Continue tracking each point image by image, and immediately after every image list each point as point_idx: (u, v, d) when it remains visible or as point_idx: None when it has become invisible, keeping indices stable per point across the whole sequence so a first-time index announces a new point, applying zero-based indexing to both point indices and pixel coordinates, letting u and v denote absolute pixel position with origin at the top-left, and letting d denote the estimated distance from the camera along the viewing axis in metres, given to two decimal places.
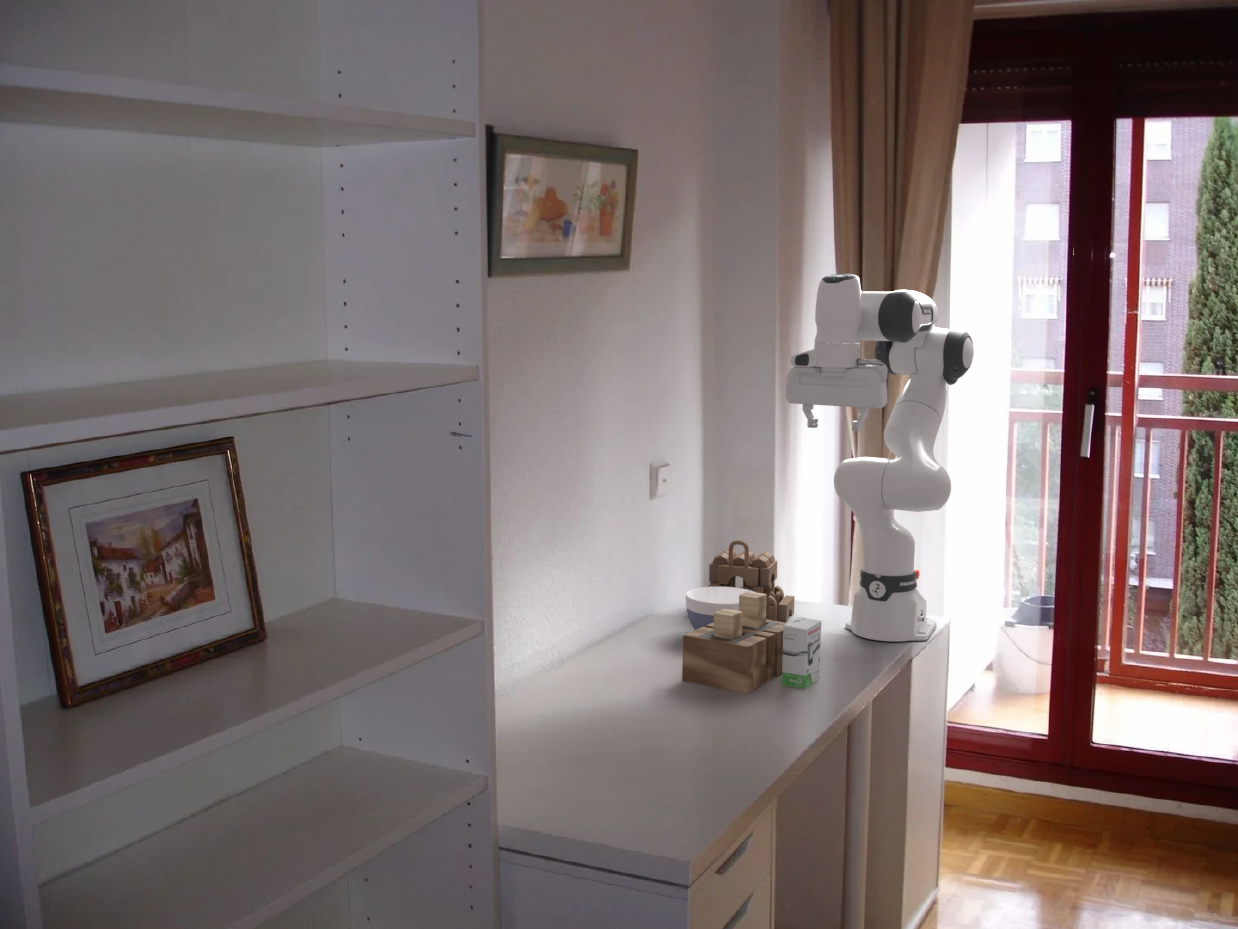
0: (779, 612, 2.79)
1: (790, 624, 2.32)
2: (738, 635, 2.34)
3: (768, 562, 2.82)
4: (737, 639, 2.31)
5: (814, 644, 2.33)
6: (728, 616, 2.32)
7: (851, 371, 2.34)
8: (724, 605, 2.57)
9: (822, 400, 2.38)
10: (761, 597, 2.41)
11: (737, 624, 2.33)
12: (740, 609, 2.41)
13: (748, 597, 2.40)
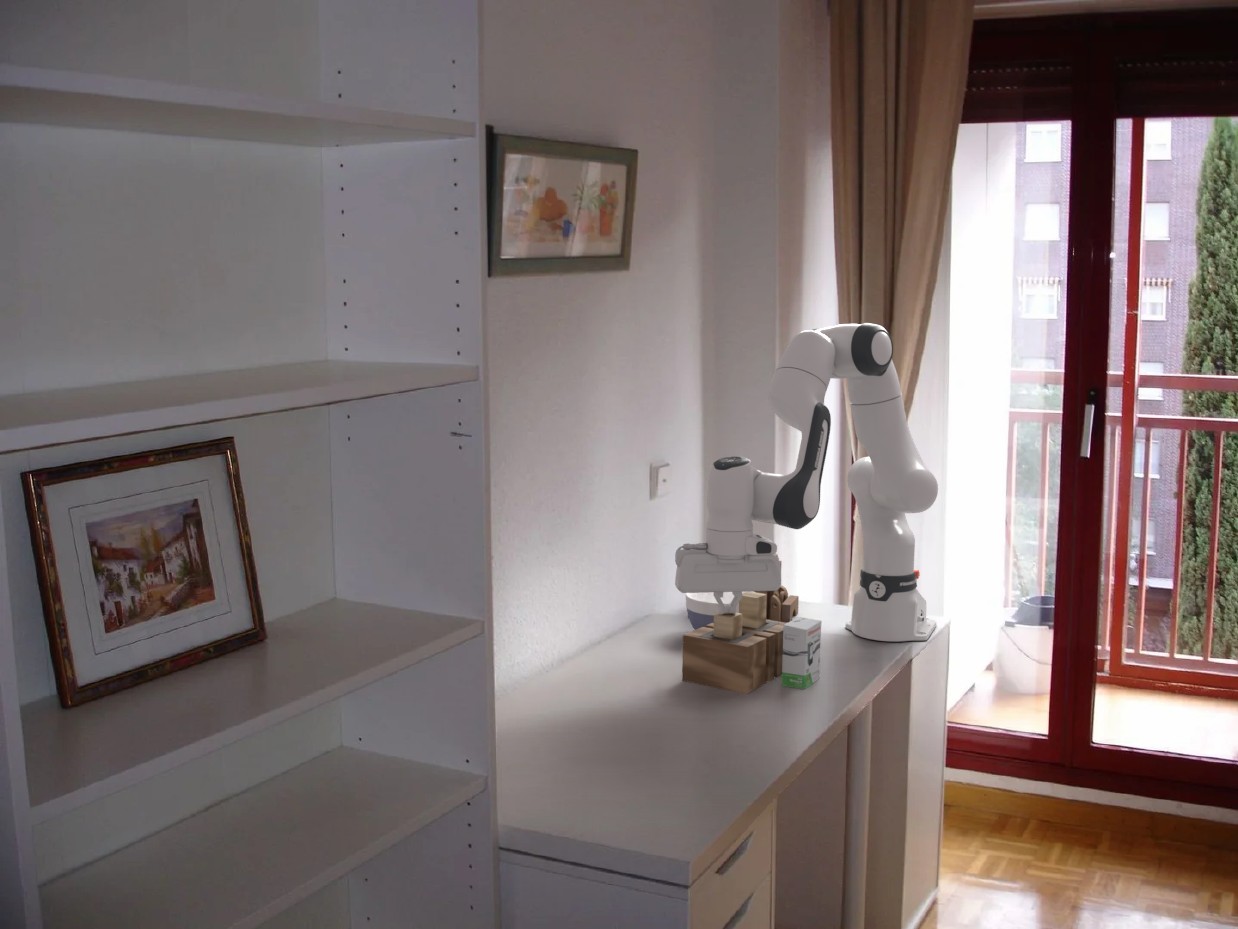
0: (783, 612, 2.80)
1: (790, 624, 2.32)
2: None
3: None
4: (737, 639, 2.31)
5: (814, 644, 2.33)
6: (728, 618, 2.32)
7: None
8: None
9: None
10: (761, 597, 2.41)
11: (736, 626, 2.33)
12: (740, 609, 2.41)
13: (748, 597, 2.40)
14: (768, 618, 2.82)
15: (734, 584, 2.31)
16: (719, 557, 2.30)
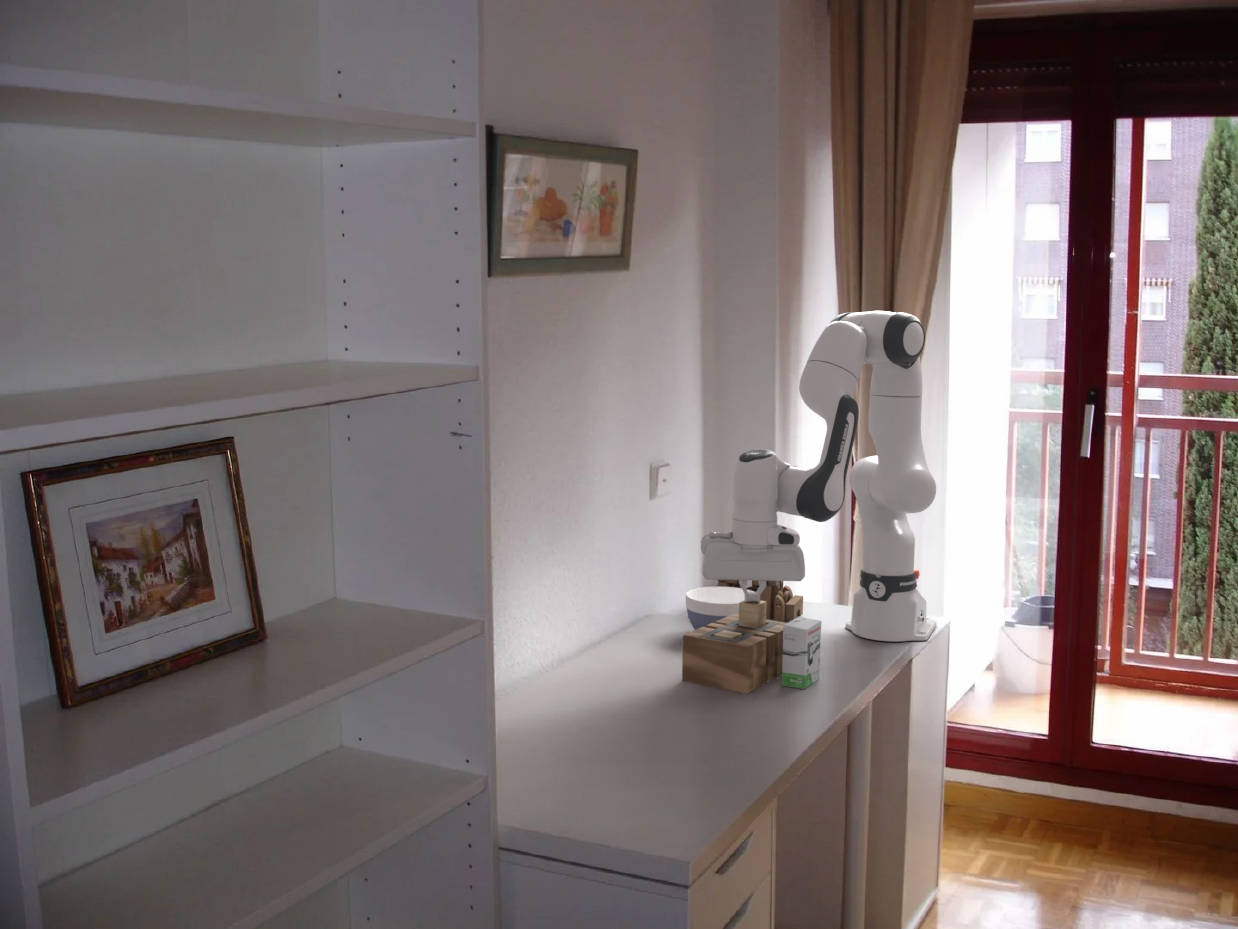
0: (787, 612, 2.80)
1: (790, 624, 2.32)
2: None
3: None
4: (737, 639, 2.31)
5: (814, 644, 2.33)
6: (728, 638, 2.32)
7: None
8: (724, 605, 2.57)
9: None
10: (761, 604, 2.41)
11: None
12: (740, 617, 2.42)
13: (748, 604, 2.40)
14: (772, 618, 2.82)
15: (757, 573, 2.39)
16: (742, 546, 2.38)
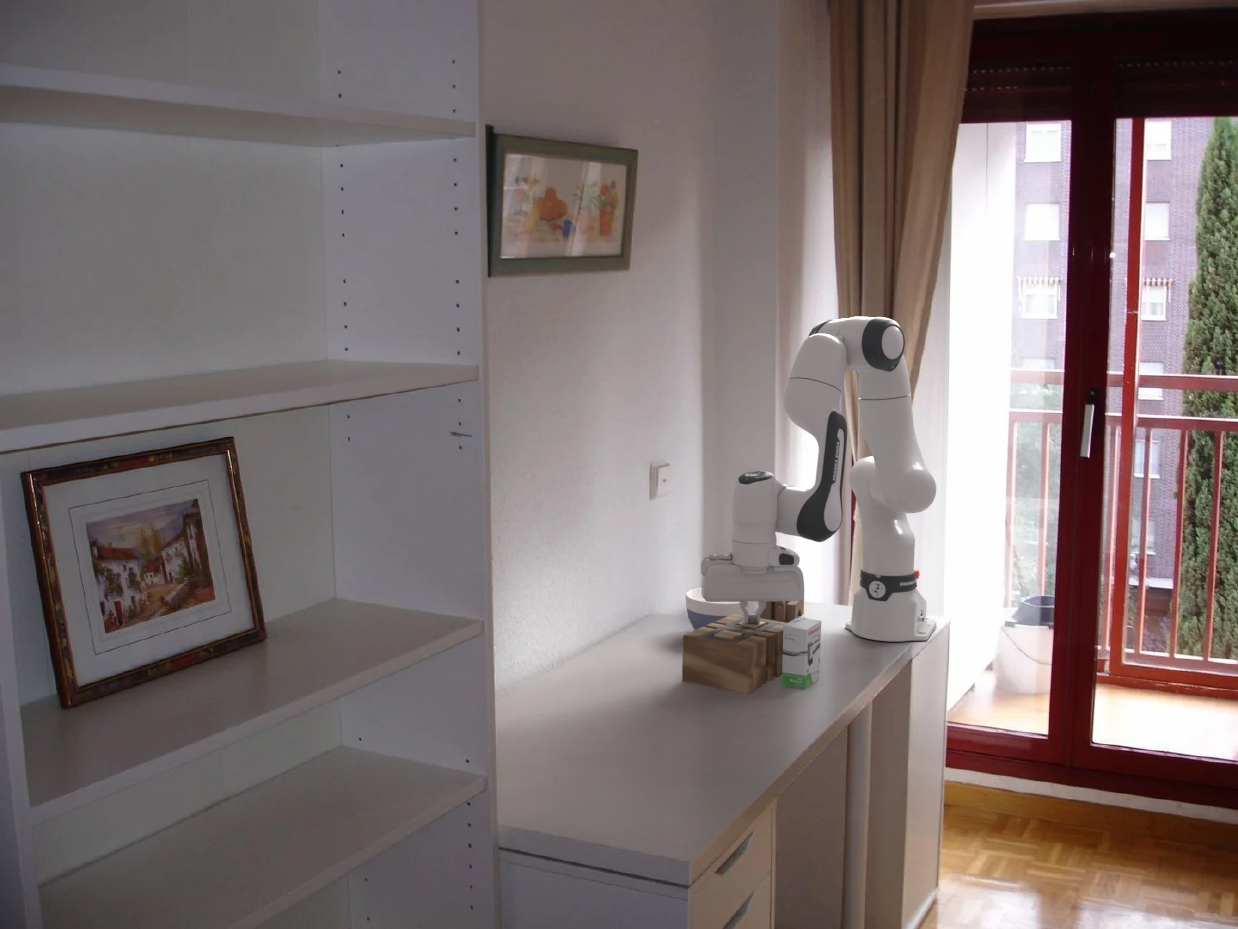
0: (788, 612, 2.80)
1: (790, 624, 2.32)
2: None
3: None
4: (737, 639, 2.31)
5: (814, 644, 2.33)
6: (728, 638, 2.32)
7: None
8: (724, 605, 2.57)
9: None
10: (760, 625, 2.41)
11: None
12: None
13: (747, 625, 2.41)
14: (773, 618, 2.82)
15: (758, 594, 2.40)
16: (743, 568, 2.39)
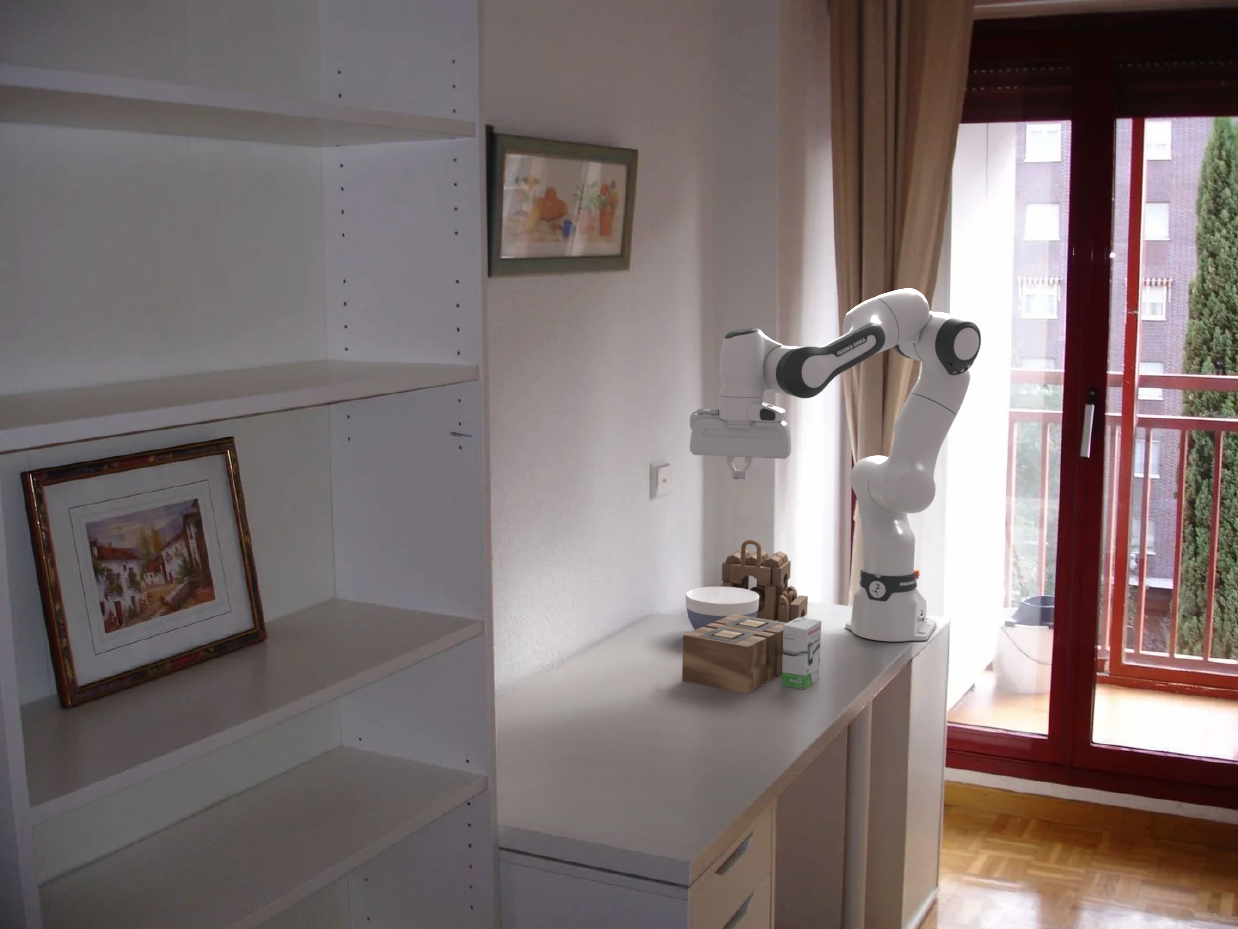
0: (791, 612, 2.80)
1: (790, 624, 2.32)
2: None
3: (781, 562, 2.82)
4: (737, 639, 2.31)
5: (814, 644, 2.33)
6: (728, 638, 2.32)
7: None
8: (724, 605, 2.57)
9: None
10: (760, 626, 2.41)
11: None
12: None
13: (747, 626, 2.41)
14: (776, 618, 2.82)
15: (742, 449, 2.43)
16: (727, 422, 2.43)
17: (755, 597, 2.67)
